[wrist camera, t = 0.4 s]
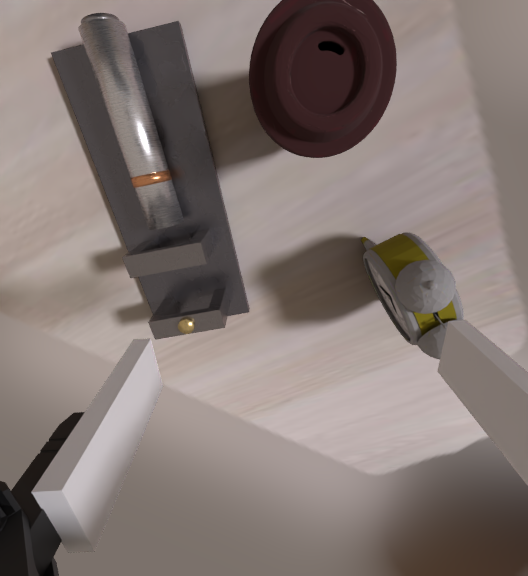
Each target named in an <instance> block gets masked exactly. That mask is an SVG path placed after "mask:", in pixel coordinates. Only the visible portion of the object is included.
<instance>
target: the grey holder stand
mask: <svg viewBox="0 0 528 576" xmlns="http://www.w3.org/2000/svg"><path fill="white" fill-rule="evenodd" d="M128 36H129V39H130V42H131V46H132V49H133V52H134V56H135V59H136V62H137V66H138V69H139V72H140V76H141V79H142V82H143V86H144V89H145V92H146V96H147V99H148V102H149V106H150V109H151V112H152V116H153V119H154V122H155V126H156V129H157V132H158V136H159V139H160V142H161V146H162V149H163V152H164V156H165V159H166V162H167V166H168V169H169V171H170V174H171V177H172V182H173V186H174V189H175V192H176V196H177V199H178V202H179V206H180V209H181V212H182V216H183V219H184V221H183V222H181V223H179V224H176V225H173V226H170V227H166V228H162V229H156V230H149V229H148V226H147V223H146V220H145V217H144V215H143V212H142V209H141V206H140V203H139V200H138V197H137V195H136V192H135V189H134V188H133V185H132V182H131V179H130V175H129V172H128V169H127V166H126V163H125V160H124V158H123V155H122V152H121V149H120V146H119V143H118V140H117V138H116V135H115V132H114V129H113V126H112V123H111V121H110V118H109V115H108V112H107V109H106V106H105V103H104V101H103V98H102V95H101V92H100V89H99V86H98V84H97V81H96V78H95V75H94V72H93V69H92V66H91V64H90V61H89V58H88V55H87V52H86V49H85V47H84V45H80V46H76V47H72V48H68V49H64V50H60V51H56V52H52V53H51V54H52V57H53V59H54V62H55V64H56V67H57V69H58V72H59V74H60V77H61V80H62V82H63V85H64V87H65V90H66V92H67V95H68V98H69V100H70V103H71V105H72V108H73V110H74V113H75V116H76V118H77V121H78V123H79V126H80V128H81V131H82V133H83V136H84V139H85V141H86V144H87V146H88V149H89V151H90V154H91V157H92V159H93V162H94V164H95V167H96V169H97V172H98V174H99V177H100V180H101V182H102V185H103V187H104V190H105V192H106V195H107V198H108V200H109V203H110V205H111V208H112V210H113V213H114V215H115V218H116V221H117V223H118V226H119V228H120V231H121V233H122V236H123V239H124V241H125V244H126V246H127V249H128V251H129V253H127V254H126V255H125V256H123V257H122V258H123V261H124V263H125V266H126V268H127V271H128V273H129V275H130V278H134V277H139V280H140V282H141V285H142V287H143V290H144V292H145V295H146V298H147V300H148V303H149V305H150V308H151V310H152V313H153V316H152V318H151V319H150V321H149V322H148V323H149V325H150V328H151V330H152V333H153V335H154V338H155V339H161V338H167V337H173V336H179V335H184V334H190V333H196V332H202V331H208V330H214V329H219V328H225V325H226V320H227V316H230V315H236V314H241V313H247V312H249V305H248V301H247V297H246V293H245V288H244V284H243V280H242V276H241V272H240V268H239V264H238V259H237V255H236V251H235V247H234V243H233V239H232V235H231V230H230V226H229V222H228V218H227V214H226V210H225V206H224V201H223V197H222V193H221V189H220V185H219V181H218V177H217V172H216V168H215V164H214V160H213V156H212V152H211V148H210V143H209V139H208V135H207V131H206V127H205V123H204V119H203V114H202V110H201V106H200V102H199V98H198V94H197V90H196V85H195V81H194V77H193V73H192V69H191V65H190V61H189V56H188V52H187V48H186V44H185V40H184V36H183V32H182V27H181V24H180V23H179V21H176V22H172V23H168V24H164V25H160V26H156V27H152V28H148V29H144V30H140V31H136V32H132V33H128Z"/></svg>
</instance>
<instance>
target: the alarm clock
mask: <svg viewBox="0 0 528 576" xmlns="http://www.w3.org/2000/svg"><path fill="white" fill-rule="evenodd" d="M361 241H362V243H363V245H364V246H365V248H366V250H367V251H366V252H365V253H364V255H363V261H364V265H365V269H366V271H367V274H368V276H369V279H370V281H371V283H372V286H373V288H374V290H375V292H376V294H377V296H378V298H379V299H380V301H381V303H382V305H383V307H384V309H385V310H386V312H387V314H388V315H389V317H390V319H391V320H392V322H393V323H394V325H395V326H396V328H397V329H398V331H399V332H400V333H401V335H402V336H403V337H404V338H405V339H406V341H407V342H409V343H410V344H412V345H418V346H419V348H420V349H421V350H422V351H423V352H424V353H426V354H427V355H429V356H430V357H433V358H436V359H440V358H441V353H442V348H443V344H444V339H445V335H446V330H447V325H448V321H461V320H463V317H464V316H463V307H462V303H461V300H460V297H459V294H458V292H457V289H456V283H455V279H454V277H453V275H452V273H451V271H450V270H449V269H447V268H446V267H445V266H444V265H443V264H442V262H441V261H440V259H439V258H438V257H437V255H436V254H435V253H434V252H433V250H432V249H431V248H430V247H429V246H428V245H427V244H426V243H425V242H424V241H423V240H422V239H421V238H419V237H418V236H416V235H415V234H412V233H402V234H398V235H396V236H394V237H392V238H390V239H388V240H386V241H384V242H382V243H380V244H378V245H376V244H375V243H373V242H372V241H370V240H369V239H367V238H366V237H363V238H362V239H361Z"/></svg>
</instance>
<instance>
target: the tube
mask: <svg viewBox="0 0 528 576" xmlns="http://www.w3.org/2000/svg"><path fill="white" fill-rule="evenodd" d="M79 32H80V35H81V38H82V41H83V44H84V47H85V49H86V52H87V55H88V58H89V61H90V64H91V66H92V69H93V72H94V75H95V78H96V81H97V84H98V86H99V89H100V92H101V95H102V98H103V101H104V103H105V106H106V109H107V112H108V115H109V118H110V121H111V123H112V126H113V129H114V132H115V135H116V138H117V140H118V143H119V146H120V149H121V152H122V155H123V158H124V160H125V163H126V166H127V169H128V172H129V175H130V179H131V182H132V185H133V188H134V189H135V192H136V195H137V197H138V200H139V203H140V206H141V209H142V212H143V215H144V217H145V220H146V223H147V226H148V229H149V230H156V229H162V228H166V227H170V226H173V225H176V224H179V223H181V222H183V221H184V219H183V216H182V212H181V209H180V206H179V202H178V199H177V196H176V192H175V189H174V186H173V182H172V177H171V174H170V171H169V169H168V166H167V162H166V159H165V156H164V152H163V149H162V146H161V142H160V139H159V136H158V132H157V129H156V126H155V122H154V119H153V116H152V112H151V109H150V106H149V102H148V99H147V96H146V92H145V89H144V86H143V82H142V79H141V76H140V72H139V69H138V66H137V62H136V59H135V56H134V52H133V49H132V46H131V42H130V39H129V36H128V32H127V29H126V26H125V24H124V23H123V22H121V21H119V19H118V17H116V16H114V15H112V14H107V13H96V14H91V15H88V16H86V17H84V18H83V19H82V20H81V25H80V26H79Z"/></svg>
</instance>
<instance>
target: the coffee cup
mask: <svg viewBox="0 0 528 576" xmlns="http://www.w3.org/2000/svg"><path fill="white" fill-rule="evenodd" d="M396 66H397V64H396V48H395V43H394V39H393V35H392V32H391V29H390V27H389V24H388V22H387V20H386V18H385V16H384V14H383V13H382V11H381V10H380V8H379V7H378V5H377V4H376V3H375V2H374V1H373V0H282V1H281V2H280V3H279V4H278V5H277V6H276V7H275V8H274V9H273V10H272V11H271V13H270V14H269V15H268V17H267V18H266V20H265V21H264V23H263V25H262V27H261V28H260V30H259V33H258V35H257V37H256V40H255V43H254V46H253V50H252V54H251V60H250V69H249V85H250V93H251V99H252V103H253V107H254V110H255V113H256V115H257V117H258V120H259V122H260V124H261V125H262V127H263V128H264V130H265V131H266V133H267V134H268V135H269V136H270V137H271V138H272V139H273V141H274V142H275V143H277V144H278V145H279V146H281V147H282V148H284V149H285V150H287V151H289V152H291V153H293V154H296V155H299V156H304V157H311V158H323V157H330V156H333V155H337V154H340V153H342V152H345V151H347V150H349V149H350V148H352V147H354V146H355V145H357V144H358V143H359V142H360V141H362V140H363V139H364V138H365V137H366V136H367V135H368V134H369V133H370V132H371V131H372V130H373V129H374V127H375V126H376V125H377V123H378V122H379V120H380V119H381V117H382V116H383V114H384V112H385V110H386V108H387V105H388V103H389V101H390V98H391V95H392V91H393V87H394V83H395V77H396Z"/></svg>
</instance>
